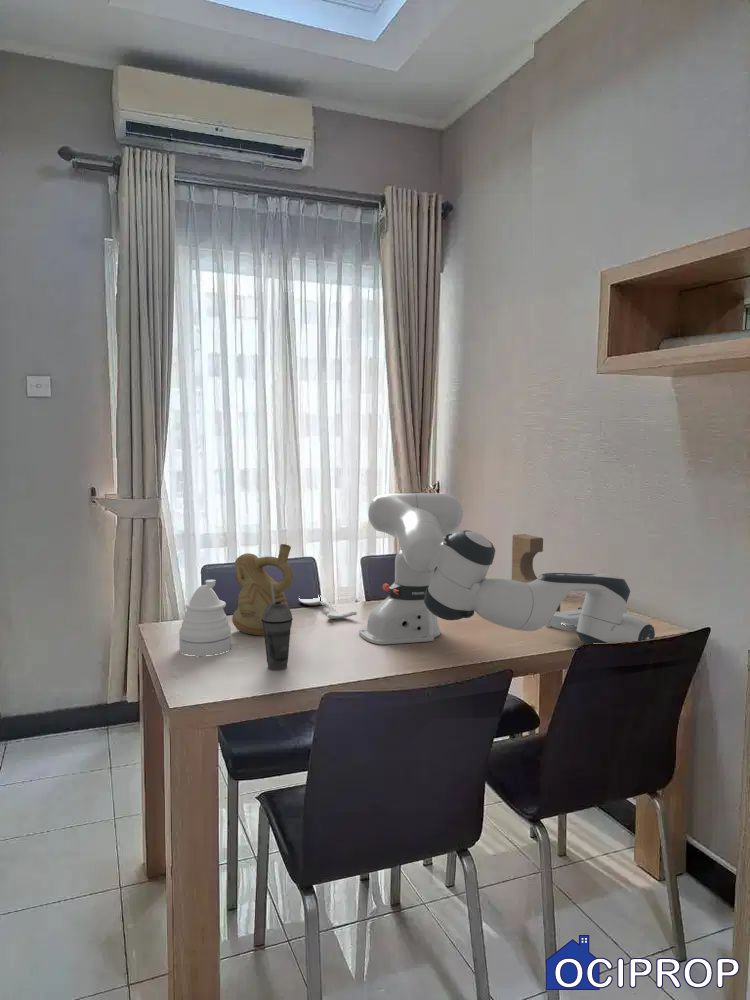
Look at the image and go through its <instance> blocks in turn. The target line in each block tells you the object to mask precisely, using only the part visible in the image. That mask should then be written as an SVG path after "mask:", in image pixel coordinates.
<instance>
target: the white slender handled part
mask: <svg viewBox="0 0 750 1000" xmlns="http://www.w3.org/2000/svg"><path fill="white" fill-rule="evenodd" d="M319 595H320V594H318V598H313V599H300V598H299V597H298V601H299V602H300V603H302V604H304V605H308V606H319V605H322V606H326V607H327V608H328V613H327V614H326V617H327V618H329V619H332V620H340V619H345V618H349V617H353V616H357V615H358V613H357V611H351V612H342V611H341V612H340V611H337V609H335V608H334V607H333V605H331V604H330V603H331V602H330V601H328V599H327V598H326V597H325V596H323V595H320V597H321V601H320V597H319Z"/></svg>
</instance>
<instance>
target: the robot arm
mask: <svg viewBox="0 0 750 1000" xmlns="http://www.w3.org/2000/svg"><path fill="white" fill-rule="evenodd" d="M367 513H368V514H367V515H368V516H367V517H368V520H369V522H370V525H371V526H372V528H374V530H376V531H378V532H382V533H385V534H387V535H390V536H392V537H394V538H395V539H396V540H398V541H399V545H400V550H399V551H397V553H396V555H395V559H394V582H393V583H392V584H391V585H390V584H388V583H383V585H382V587H381V588H382V590H383V591H385V592H388V596H387V597H386V598H385V599H384V600H383V601H382V602H380V603H379V604H378V605H377V606H376V607H374V608H373V609H371V611H370V612H369V615H368V618H367V624H366V627H362V628H360V629H359V636H360V637H361V638H362V639H363V640H365V641H368V642H370V643H372V644H375V645H394V644H397V645H398V644H407V643H408V644H410V643H423V642H424V643H425V642H433V641H434V640H435V638H436V637H438V636H440V634H441V630H440V627H439V621H438V618H439V619H442V620H444V621H445V620H446V621H459V620H462V619H470V618H471V617H473V616H474V614H475V613H476V615H478V616H479V617H481V618H482V619H483V620H486V621H488V622H490V623H492V624H495V625H497V626H500V627H504V628H507V629H511V630H515V631H519V632H520V631H523V632H535V631H538V630H540V629H542V628H543V627H544V626H545V625H546V624H547V623H548V622H549V621H550V624H551V627H553V628H556V629H560V630H563V631H567V632H574V631H576V634H577V636H578V638H579V640H580V641H581V643H583V644H585V645H587V644H593V643H619V642H632V641H641V640H647V639H653V638H654V639H655V634H656V632H655V628H654V626H653V624H651V623H650V622H648V621H646V620H644V619H642V618H640V617H638V616H636V615H633V614H630V613H628V612H627V611H628V610H627V608H626V604H627V603H628V600H629V598H630V595H631V589H630V586H629V585H628V583H627V581H626V579H624V578H623V577H621V576H619V575H616V574H614V573H607V572H601V573H570V572H568V573H567V572H546V573H541V574H540V575H539V576H538V577H537V578H538V579H536V580H534V581H531V582H528V583H524V582H520V581H515V580H512V579H509V578H486V576H487V574H488V572H489V569H490V566H491V565H492V564H493V563H494V559H495V556H496V548H495V546H494V544H493V543H492V542H491V541H490V540H489V539H488V538H487V537H486V536H484V535H483V534H481V533H478V532H476V531H473V530H459V531H456V530H457V529H458V527H459V526H460V525H461V523H462V520H463V513H464V510H463V506H462V504H461V502H460V501H459V499H458V498H457V497H456V496H454V495H450V494H446V493H445V494H444V493H440V492H439V493H438V492H436V493H435V492H434V493H433V492H430V493H429V492H428V493H427V492H426V493H425V492H423V493H420V492H416V493H415V492H414V493H410V492H409V493H405V492H404V493H401V492H400V493H398V492H397V493H386V494H383V495H382V494H381V495H376V496H375V497H374V498H373V499H372V501H371V502H370V505H369V507H368V512H367ZM455 531H456V532H455ZM453 532H454V533H453ZM572 592H585V593H584V594H585V595H584V600H583V603H582V606H581V607H578V608H577V609H571V610H563V611H561V610H560V611H557V608H558V607H559V605H560V606H561V603H562V601H564V599H565V597H566V596H567V595H569V594H570V593H572ZM544 628H545V627H544Z"/></svg>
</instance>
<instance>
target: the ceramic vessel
mask: <svg viewBox="0 0 750 1000" xmlns="http://www.w3.org/2000/svg"><path fill="white" fill-rule="evenodd" d="M291 548H292V546H291V545H289V544H287V543H286V544H285V543H281V544H280V545H279V552H278V556H277V557H275V556H261V557H258V556H257V555H256V554H254V553H250V552H249V553H244V554H243V553H242V554H241V555H239V556H238V557H237V558H236V559H235V562H234V567H235V569H234V578H235V582H236V583H237V584H238V585H239V586H241V587H242V588H241V590H240V591H239V594H238V597H237V609H236V610H235V611H234V612H233V614H232V617H231V618H232V619H231V621H232V624H233V625H234V627H235V629H236V630H237V631H238V632H241V633H242V632H243V633H245V634H249V635H252V634H253V636H262V635H263V636H265V635H264V629H263V624H262V615H263V612H264V610H265V608H266V607H267V606H268V605H269V604H271V603H273V599H272V591H271V584H273V590H274V597H275V602H282V603H284V604H286V605H287V606H288V607H289V605H288V601H287V598H286V595H285V594H286V593H285V591H287V590H288V589H289V588H290V586H291V585H292V583H293V580H294V575H293V573H294V572H293V569H292V567H291V565H290V564H289V563H288V559H289V556H290V552H291V550H292V549H291ZM267 566H272V567H276V568H277V569H279V570H281V573H282V575H283V578H282V580H281V581H280V582H277V581H276V580H274V579H273V578H272V577H271V576H270V575H269V574H268V573H267V571H266V570H265V568H264V567H267Z"/></svg>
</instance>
